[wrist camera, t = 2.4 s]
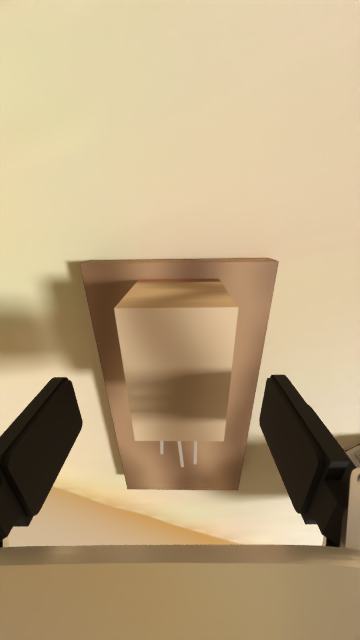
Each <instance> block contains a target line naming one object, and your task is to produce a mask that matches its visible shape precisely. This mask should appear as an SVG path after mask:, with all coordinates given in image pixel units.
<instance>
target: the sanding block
mask: <svg viewBox="0 0 360 640" xmlns="http://www.w3.org/2000/svg"><path fill="white" fill-rule="evenodd" d="M114 311H115V318H116V324H117V330H118V337H119V343H120V349H121V356H122V362H123V368H124V375H125V381H126V387H127V394H128V400H129V407H130V413H131V419H132V426H133V432H134V438H135V441H224V436H225V427H226V417H227V408H228V399H229V390H230V381H231V372H232V362H233V353H234V344H235V335H236V326H237V317H238V306H237V304H236V303H235V302H234V300H233V299H232V297H231V296H230V294H229V293H228V291H227V290H226V288H225V287H224V286H223V284H222V283H221V281H220V280H219V279H153V280H138V281H137V282H136V283H135V285H134V286H133V287H132V288H131V289H130V290H129V292H128V293H127V294H126V295H125V296H124V297H123V299H122V300H121V301H120V302H119V303H118V304H117V306H116V307H115V308H114Z"/></svg>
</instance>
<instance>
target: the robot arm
mask: <svg viewBox="0 0 360 640" xmlns="http://www.w3.org/2000/svg"><path fill="white" fill-rule="evenodd" d="M259 421H260V427H261V429H262V432H263V434H264V437H265V439H266V441H267V444H268V446H269V449H270V451H271V453H272V456H273V458H274V461H275V463H276V465H277V468H278V470H279V473H280V475H281V477H282V480H283V482H284V485H285V487H286V489H287V492H288V494H289V497H290V499H291V502H292V504H293V506H294V508H295V510H296V512H297V513H299V514H301V515H302V518H303V520H304V522H305V524H317V525H318V527H319V529H320V531H321V533H322V535H324V537H323V544H322V546H308V545H99V546H98V545H97V546H28V547H27V546H26V547H8V534H9V533H10V531H11V529H12V527H13V526H29V524H30V522H31V520H32V518H33V516H35V515H37V514H38V513H39V511H40V509H41V508H42V505H43V504H44V502H45V500H46V498H47V496H48V494H49V492H50V490H51V488H52V486H53V484H54V482H55V480H56V478H57V476H58V474H59V472H60V470H61V468H62V466H63V464H64V462H65V460H66V458H67V456H68V454H69V452H70V450H71V448H72V446H73V444H74V442H75V440H76V438H77V436H78V435H79V433H80V431H81V428H82V418H81V414H80V410H79V407H78V403H77V399H76V396H75V392H74V388H73V385H72V382H71V381H70V380H68V378H66V377H54V378H52V379H51V380H50V381H49V382H48V383H47V384H46V386H45V387H44V388H43V389H42V390H41V391H40V392H39V394H38V395H37V396H36V397H35V398H34V399H33V400H32V401H31V403H30V404H29V405H28V406H27V407H26V408H25V409H24V410H23V412H22V413H21V414H20V415H19V416H18V417H17V418H16V419H15V421H14V422H13V423H12V424H11V425H10V426H9V427H8V428H7V430H6V431H5V432H4V433H3V434H2V435H1V436H0V640H360V468H357V467H356V466H355V465H354V463H353V462H352V461H351V459H350V458H349V457H348V455H347V454H346V453H345V451H344V450H343V449H342V447H341V446H340V445H339V443H338V442H337V441H336V439H335V438H334V437H333V435H332V434H331V433H330V431H329V430H328V429H327V427H326V426H325V425H324V424H323V422H322V421H321V420H320V418H319V417H318V416H317V414H316V413H315V412H314V410H313V409H312V408H311V407H310V406H309V405H308V404H307V403H306V402H305V401H304V399H303V398H302V397H301V395H300V394H299V393H298V391H297V390H296V389H295V387H294V386H293V385H292V383H291V382H290V381H289V379H288V378H287V377H286V376H285V375H271V377H270V378H268V379H267V381H266V387H265V392H264V397H263V403H262V408H261V414H260V420H259Z"/></svg>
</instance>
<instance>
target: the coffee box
mask: <svg viewBox="0 0 360 640" xmlns="http://www.w3.org/2000/svg"><path fill="white" fill-rule="evenodd" d="M345 453H346V454H347V455H348V457H349V458H350V459H351V461H352V462H353V463H354V465H355V466H356V467H357V468H360V445H358V446H356V447H354V448H352V449H350V450H348V451H346V452H345Z"/></svg>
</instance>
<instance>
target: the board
mask: <svg viewBox="0 0 360 640" xmlns="http://www.w3.org/2000/svg"><path fill="white" fill-rule="evenodd" d="M278 262H279V261H276V260H273V259H270V258H233V259H160V260H90V261H87V262H84V263H82V264H80V267H81V272H82V276H83V281H84V286H85V291H86V295H87V300H88V305H89V310H90V314H91V319H92V324H93V329H94V333H95V338H96V343H97V347H98V352H99V357H100V362H101V366H102V371H103V376H104V381H105V385H106V390H107V395H108V400H109V404H110V409H111V414H112V418H113V423H114V428H115V433H116V437H117V442H118V447H119V452H120V456H121V461H122V466H123V471H124V475H125V480H126V485H127V489H157V490H238V488H239V482H240V476H241V471H242V465H243V460H244V454H245V448H246V443H247V437H248V431H249V426H250V420H251V415H252V409H253V403H254V398H255V392H256V386H257V381H258V375H259V369H260V364H261V358H262V353H263V347H264V341H265V336H266V330H267V324H268V319H269V313H270V307H271V302H272V296H273V291H274V285H275V279H276V274H277V268H278ZM153 279H219V280H220V281H221V283H222V284H223V286H224V287H225V288H226V290H227V291H228V293H229V294H230V296H231V297H232V299H233V300H234V302H235V303H236V304H237V306H238V317H237V326H236V335H235V344H234V353H233V362H232V372H231V381H230V390H229V399H228V408H227V417H226V427H225V436H224V441H135V438H134V432H133V426H132V419H131V413H130V407H129V400H128V394H127V387H126V381H125V375H124V368H123V362H122V356H121V349H120V343H119V337H118V330H117V324H116V318H115V311H114V308H115V307H116V306H117V304H118V303H119V302H120V301H121V300H122V299H123V297H124V296H125V295H126V294H127V293H128V292H129V290H130V289H131V288H132V287H133V286H134V285H135V283H136V282H137V281H138V280H153Z"/></svg>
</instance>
